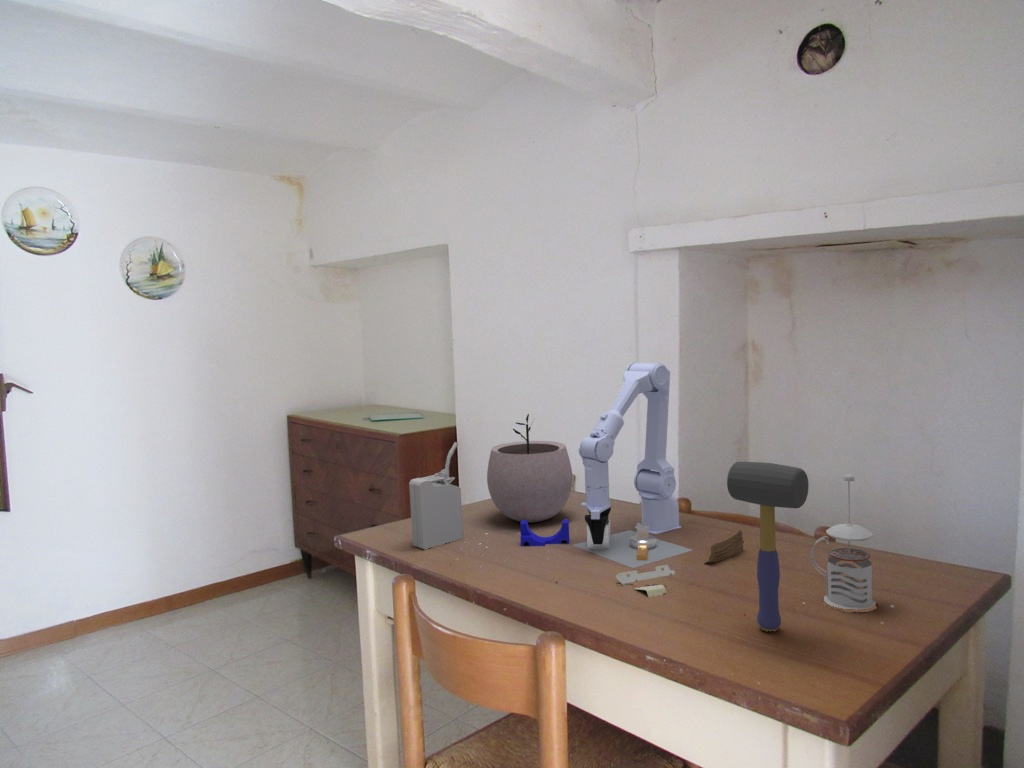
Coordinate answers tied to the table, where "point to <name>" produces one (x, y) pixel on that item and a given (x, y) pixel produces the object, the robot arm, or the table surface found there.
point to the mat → (634, 550)
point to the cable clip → (541, 541)
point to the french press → (848, 592)
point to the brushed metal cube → (606, 538)
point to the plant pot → (529, 478)
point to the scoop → (643, 541)
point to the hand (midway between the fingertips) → (599, 540)
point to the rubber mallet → (768, 521)
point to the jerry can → (436, 509)
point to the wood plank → (726, 548)
